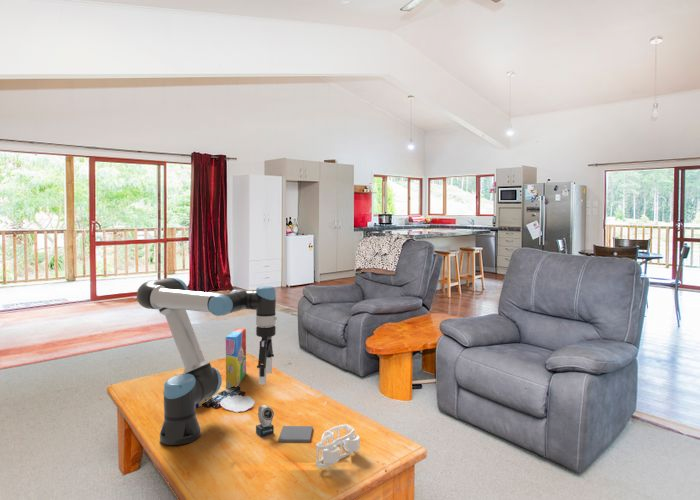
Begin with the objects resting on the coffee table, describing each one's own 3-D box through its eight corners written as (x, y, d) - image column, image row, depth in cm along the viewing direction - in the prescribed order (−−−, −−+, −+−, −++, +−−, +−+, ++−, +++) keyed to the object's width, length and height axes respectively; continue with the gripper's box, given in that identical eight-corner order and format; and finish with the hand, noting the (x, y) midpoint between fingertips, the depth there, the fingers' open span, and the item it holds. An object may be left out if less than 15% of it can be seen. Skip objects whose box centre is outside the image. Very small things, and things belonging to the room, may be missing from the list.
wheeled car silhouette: (328, 472, 152) (327, 450, 152) (304, 461, 160) (304, 440, 159) (365, 450, 168) (365, 430, 167) (342, 441, 175) (342, 422, 175)
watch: (263, 438, 177) (262, 410, 177) (254, 431, 183) (253, 404, 183) (276, 435, 180) (275, 407, 180) (266, 428, 187) (266, 401, 186)
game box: (236, 390, 231) (235, 337, 230) (225, 390, 231) (225, 337, 230) (246, 377, 252) (245, 328, 251) (236, 377, 252) (235, 328, 251)
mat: (278, 441, 174) (278, 439, 174) (283, 428, 186) (283, 426, 186) (309, 442, 174) (309, 439, 174) (312, 428, 186) (312, 426, 186)
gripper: (270, 332, 169) (270, 389, 170) (279, 319, 194) (279, 369, 195) (249, 332, 169) (249, 389, 170) (262, 319, 194) (261, 368, 195)
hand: (265, 378), depth 183 cm, fingers open, 13 cm apart
